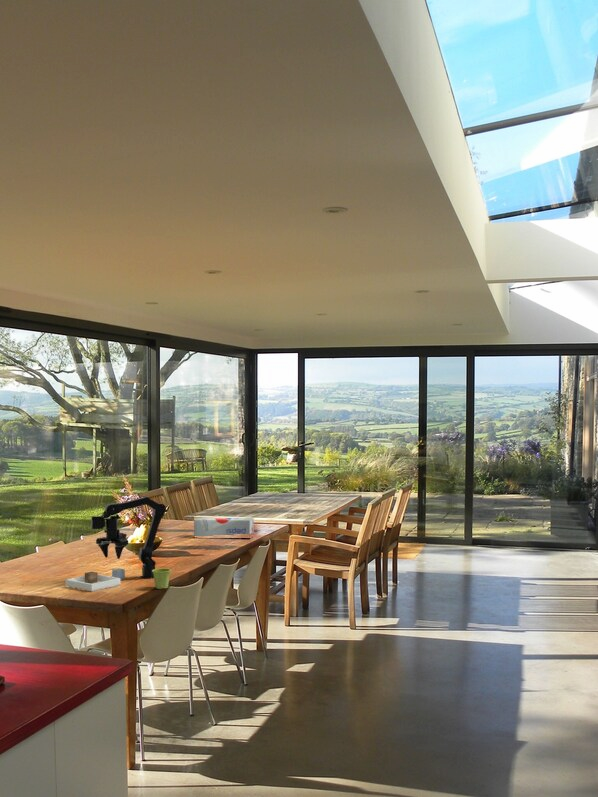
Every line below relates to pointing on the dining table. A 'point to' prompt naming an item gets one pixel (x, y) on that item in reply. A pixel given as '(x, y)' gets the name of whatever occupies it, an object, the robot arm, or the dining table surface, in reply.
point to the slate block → (118, 573)
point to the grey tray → (101, 584)
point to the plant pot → (161, 577)
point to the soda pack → (223, 526)
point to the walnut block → (91, 577)
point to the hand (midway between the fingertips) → (112, 558)
